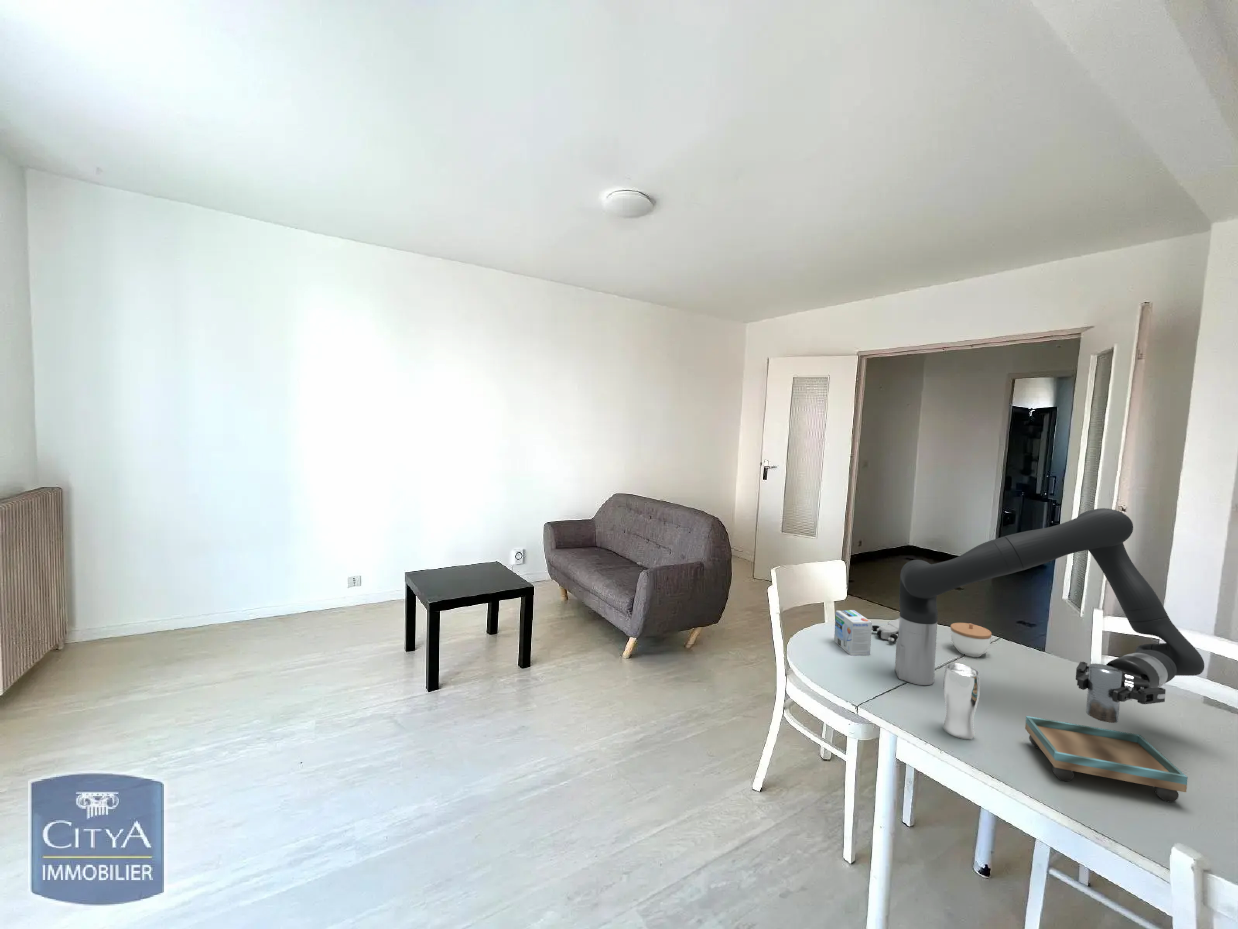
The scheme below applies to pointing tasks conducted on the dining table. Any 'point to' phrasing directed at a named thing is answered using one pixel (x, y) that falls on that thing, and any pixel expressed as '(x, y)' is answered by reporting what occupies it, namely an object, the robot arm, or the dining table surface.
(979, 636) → the lidded jar
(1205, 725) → the dining table surface
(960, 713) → the beer glass
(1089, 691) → the metal part
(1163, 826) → the dining table surface
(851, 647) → the light bulb box
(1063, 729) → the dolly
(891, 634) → the robot toy
